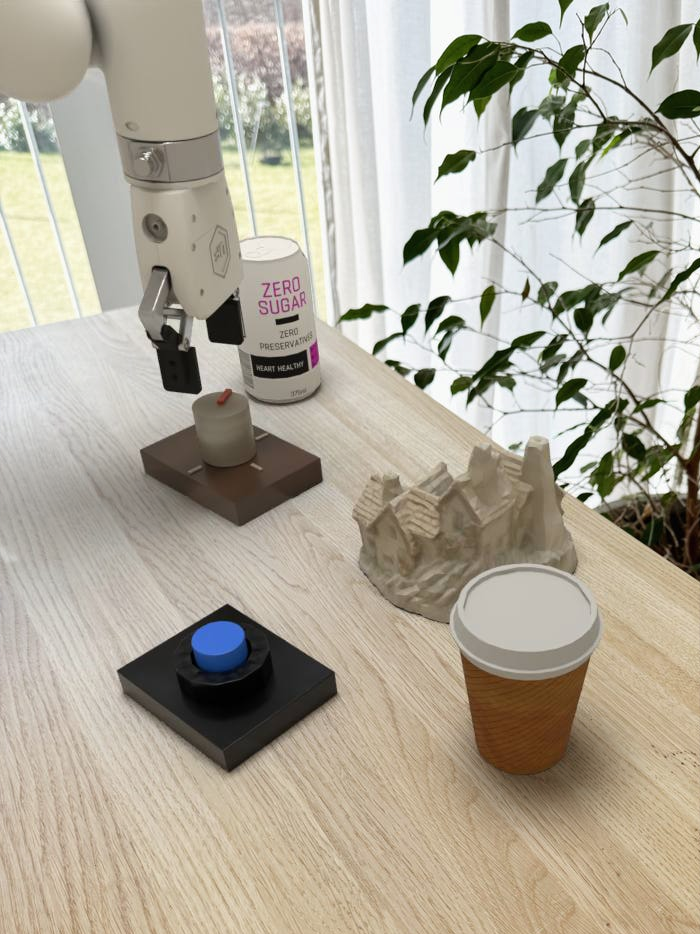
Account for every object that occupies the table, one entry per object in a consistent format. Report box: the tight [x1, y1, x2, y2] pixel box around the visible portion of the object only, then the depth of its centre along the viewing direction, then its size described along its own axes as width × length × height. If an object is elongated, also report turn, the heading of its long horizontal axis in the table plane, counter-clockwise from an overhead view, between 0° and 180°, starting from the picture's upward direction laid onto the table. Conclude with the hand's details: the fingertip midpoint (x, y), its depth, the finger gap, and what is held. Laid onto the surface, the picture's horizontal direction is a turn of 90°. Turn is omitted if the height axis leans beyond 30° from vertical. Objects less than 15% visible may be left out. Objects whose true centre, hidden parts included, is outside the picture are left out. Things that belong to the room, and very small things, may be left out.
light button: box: [191, 621, 248, 673], centre depth 70 cm, size 4×4×2 cm
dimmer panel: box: [139, 423, 324, 527], centre depth 94 cm, size 14×10×3 cm
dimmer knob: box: [191, 388, 256, 467], centre depth 91 cm, size 5×5×5 cm
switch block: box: [116, 603, 338, 774], centre depth 71 cm, size 12×10×4 cm
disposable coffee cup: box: [449, 563, 605, 775], centre depth 65 cm, size 10×10×12 cm
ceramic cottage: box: [351, 435, 579, 624], centre depth 80 cm, size 16×16×15 cm
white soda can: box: [233, 234, 322, 404], centre depth 103 cm, size 8×8×15 cm
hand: (206, 366), depth 87 cm, fingers open, 9 cm apart
